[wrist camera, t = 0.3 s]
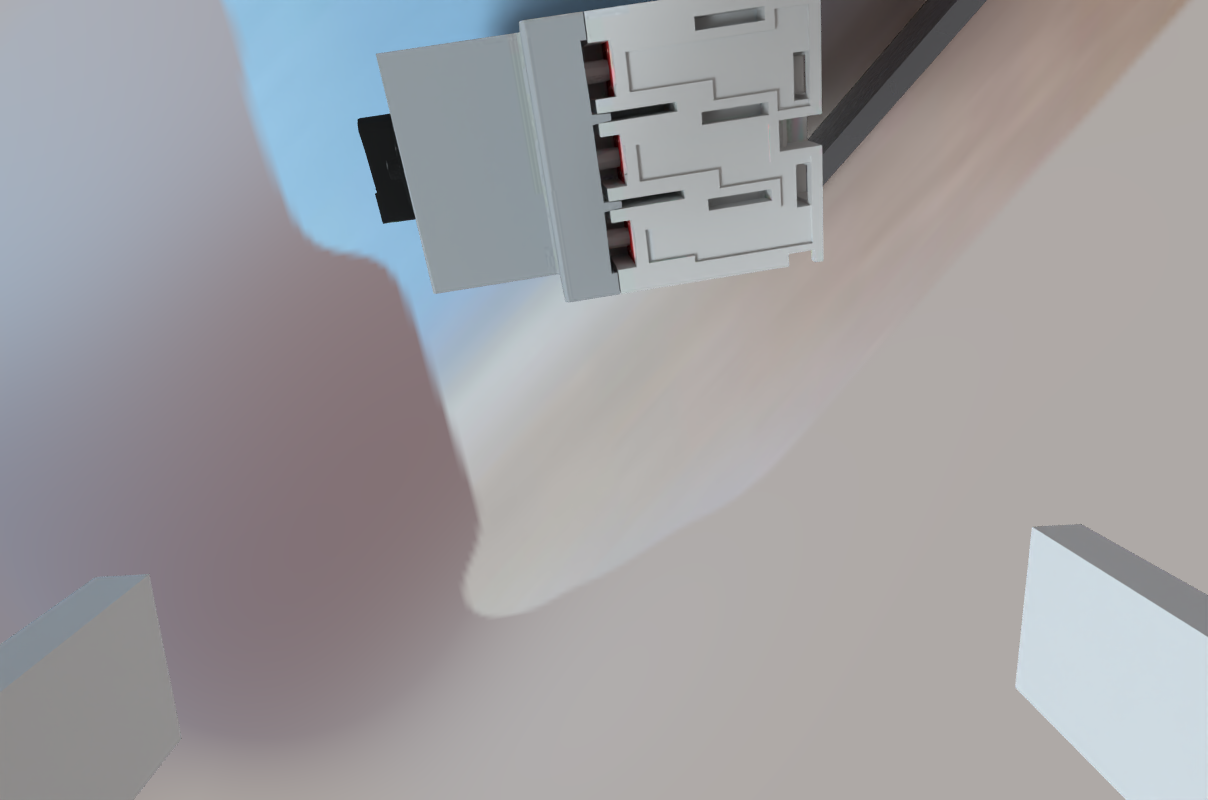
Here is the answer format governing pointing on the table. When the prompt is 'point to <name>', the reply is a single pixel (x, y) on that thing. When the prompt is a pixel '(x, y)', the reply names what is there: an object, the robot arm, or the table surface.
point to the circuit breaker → (608, 146)
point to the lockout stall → (889, 79)
